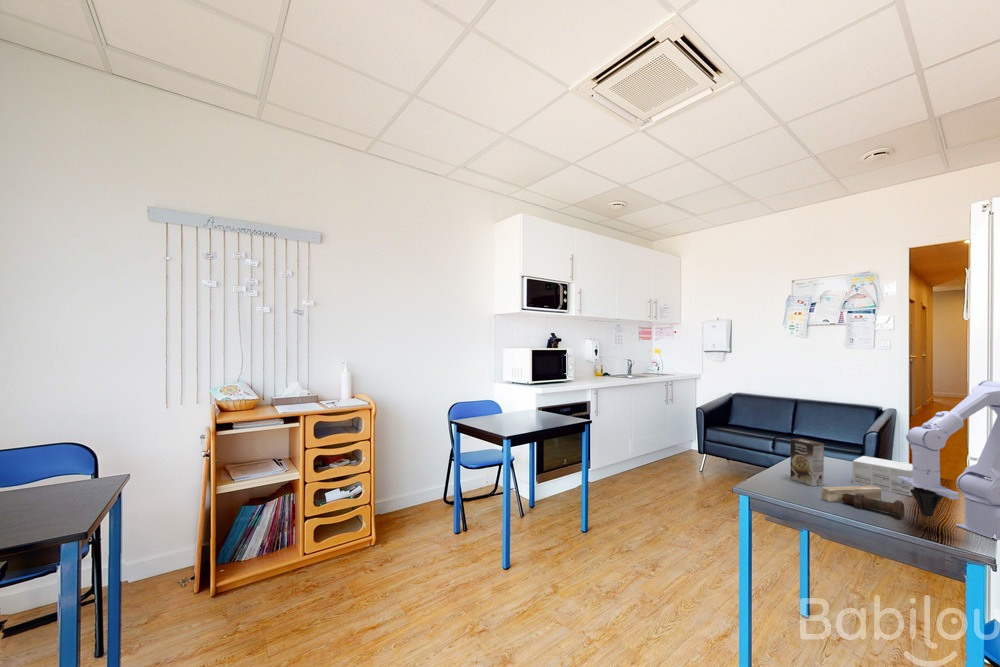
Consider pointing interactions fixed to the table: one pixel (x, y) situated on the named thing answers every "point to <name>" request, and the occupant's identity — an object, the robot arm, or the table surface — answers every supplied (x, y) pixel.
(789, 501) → the table surface
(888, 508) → the bolt
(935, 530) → the table surface
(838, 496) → the bar
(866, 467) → the supplement box
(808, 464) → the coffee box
